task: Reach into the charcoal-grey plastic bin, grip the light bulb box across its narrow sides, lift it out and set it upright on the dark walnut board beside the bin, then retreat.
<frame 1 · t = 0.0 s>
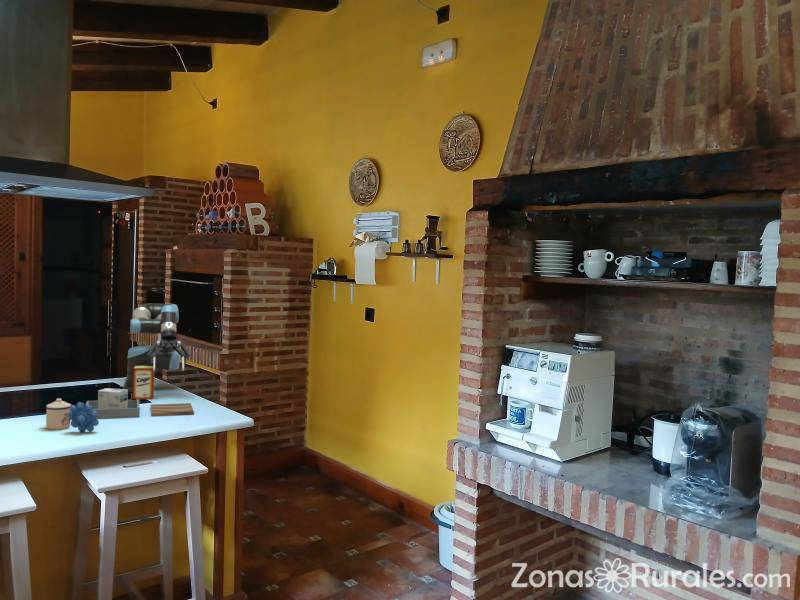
hand: (168, 369, 313), 15 cm above the table, tool tilted 35°, fingers open, 13 cm apart
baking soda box: (143, 398, 315), on the table
grapes: (82, 433, 247), on the table
grey bin: (112, 413, 281), on the table
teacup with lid: (59, 426, 255), on the table
walnut board: (171, 411, 291), on the table
light bulb box: (112, 413, 281), resting in grey bin
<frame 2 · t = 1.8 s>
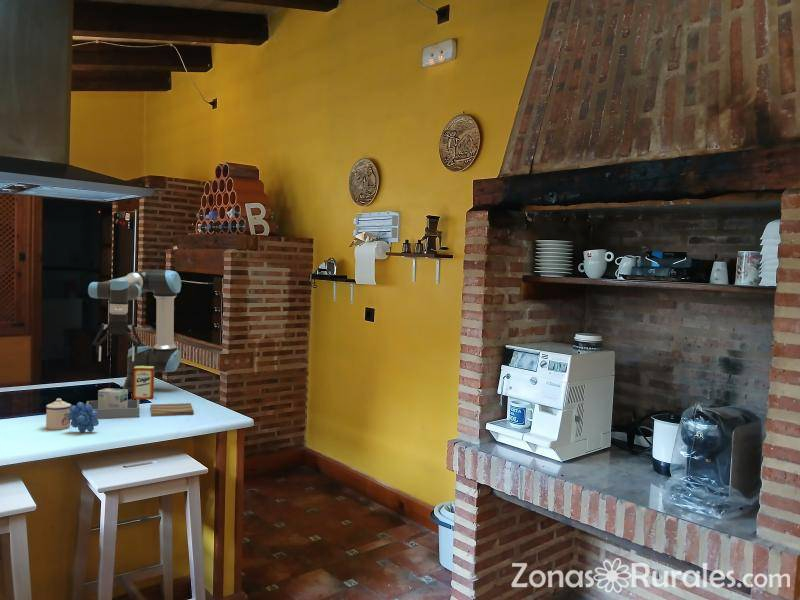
hand: (116, 360, 281), 24 cm above the table, tool pointing down, fingers open, 13 cm apart
nothing on the table moved.
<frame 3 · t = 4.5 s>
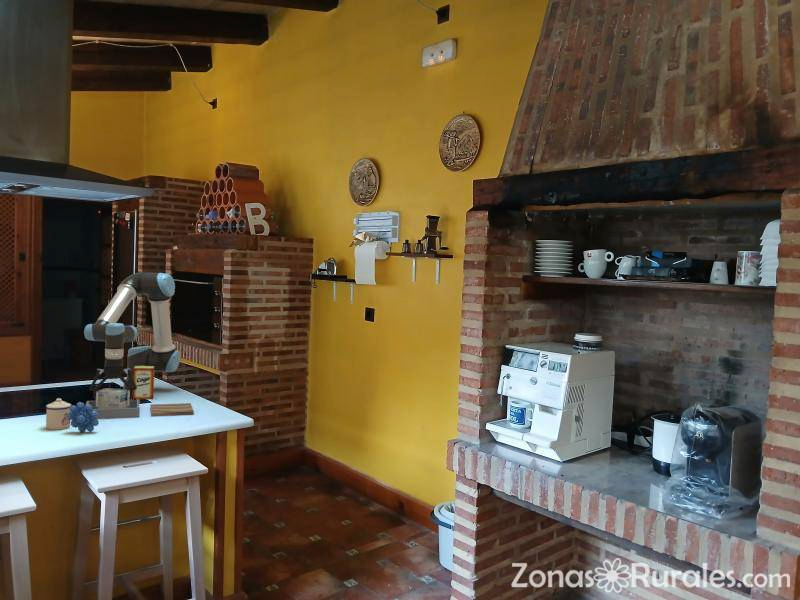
hand: (112, 405, 281), 3 cm above the table, tool pointing down, fingers closed on light bulb box, 12 cm apart
light bulb box: (112, 413, 281), resting in grey bin, touching gripper
everything else where it was.
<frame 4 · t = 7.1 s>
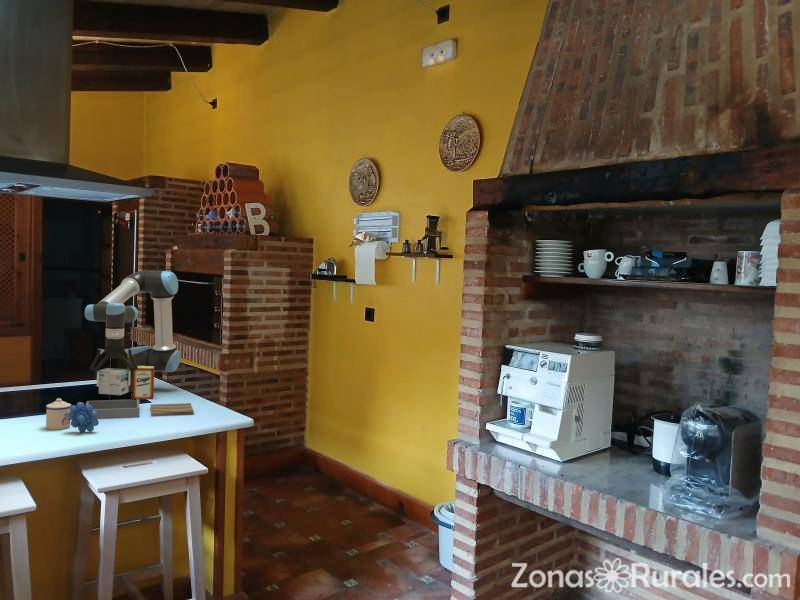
hand: (113, 385, 281), 13 cm above the table, tool pointing down, fingers closed on light bulb box, 12 cm apart
light bulb box: (113, 393, 281), point 9 cm above the table, touching gripper
everything else where it was.
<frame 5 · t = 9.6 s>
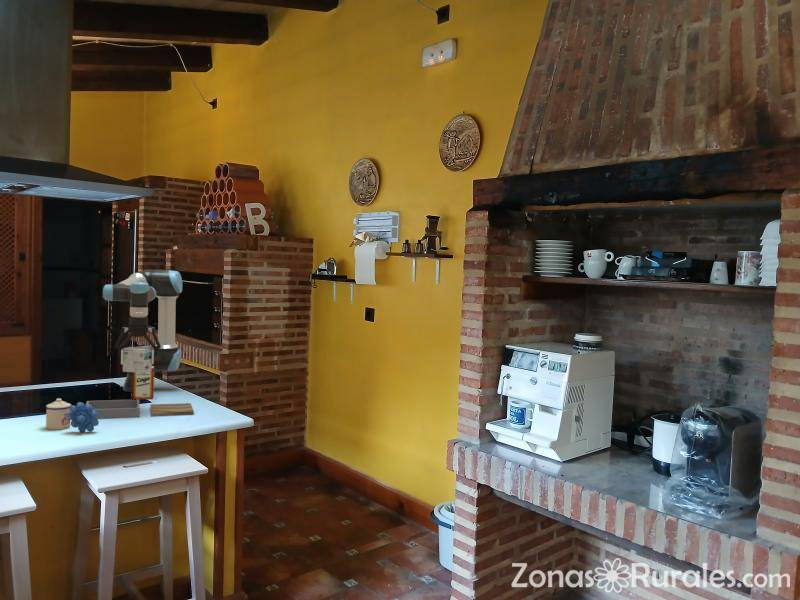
hand: (137, 363, 284), 22 cm above the table, tool pointing down, fingers closed on light bulb box, 12 cm apart
light bulb box: (137, 371, 284), point 19 cm above the table, touching gripper
everything else where it was.
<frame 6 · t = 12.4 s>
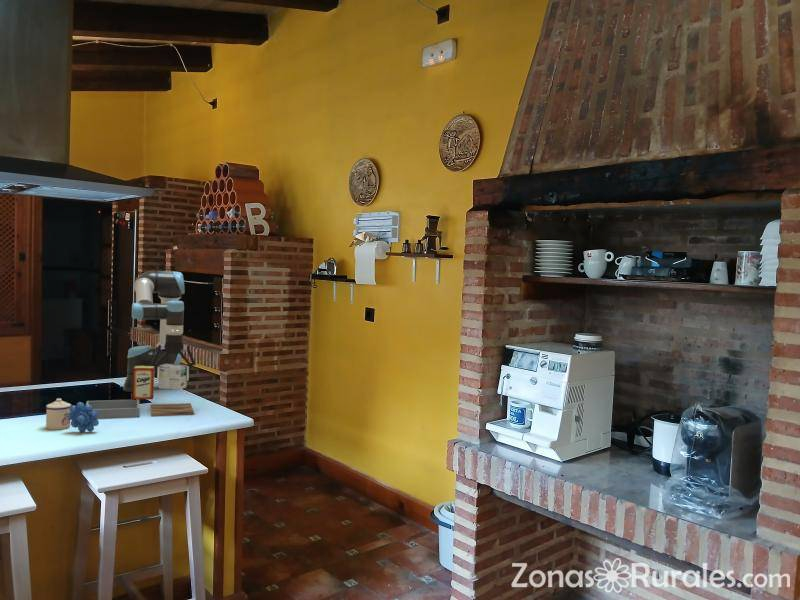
hand: (172, 380, 290), 14 cm above the table, tool pointing down, fingers closed on light bulb box, 12 cm apart
light bulb box: (172, 388, 290), point 11 cm above the table, touching gripper
everything else where it was.
when the fingers open (6 cm above the table, at t = 15.0 s): light bulb box stays where it is, resting on walnut board.
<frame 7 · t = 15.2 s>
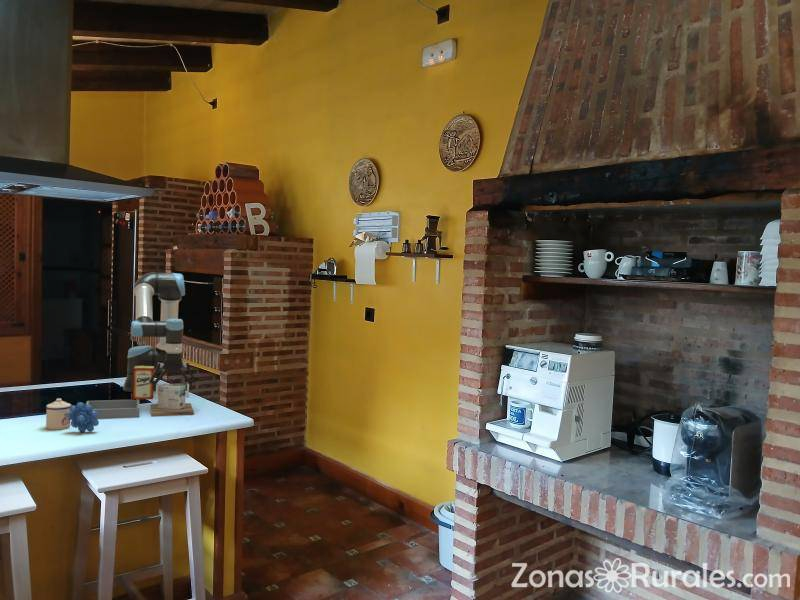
hand: (172, 397, 290), 6 cm above the table, tool pointing down, fingers open, 13 cm apart
light bulb box: (171, 408, 290), point 1 cm above the table, touching walnut board
everything else where it was.
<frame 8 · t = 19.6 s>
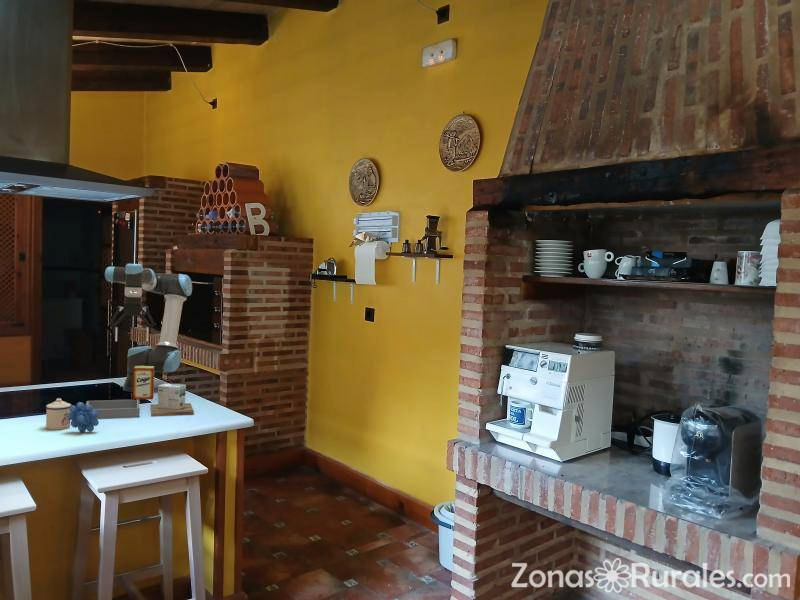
hand: (131, 341, 297), 31 cm above the table, tool pointing down, fingers open, 13 cm apart
nothing on the table moved.
at the end: light bulb box inside the target area on the walnut board (0.2 cm from its centre), point 1.3 cm above the walnut board's base; light bulb box tilted 0°; the gripper is holding nothing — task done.
